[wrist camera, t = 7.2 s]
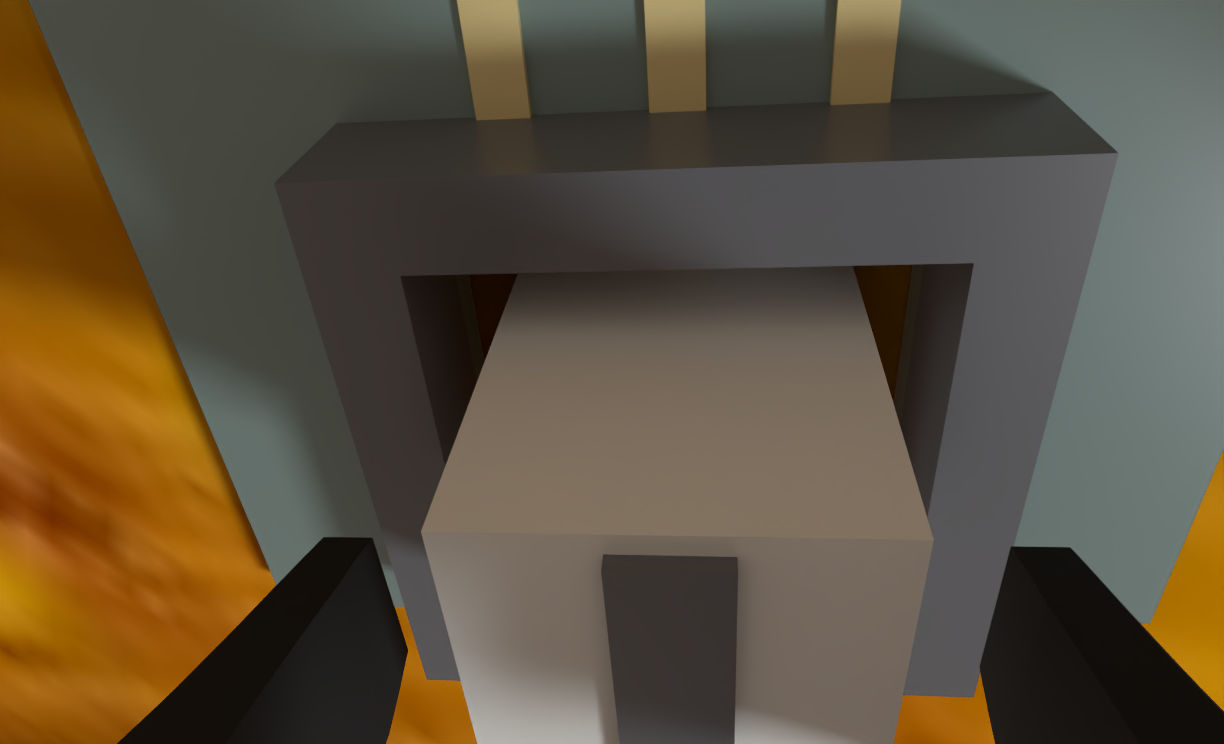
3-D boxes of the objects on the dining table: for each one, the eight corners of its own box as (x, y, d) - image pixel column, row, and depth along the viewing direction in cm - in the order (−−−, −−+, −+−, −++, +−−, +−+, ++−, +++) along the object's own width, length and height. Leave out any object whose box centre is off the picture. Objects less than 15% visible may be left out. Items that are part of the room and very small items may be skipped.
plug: (821, 472, 15) (881, 837, 10) (561, 470, 15) (489, 817, 10) (842, 232, 12) (939, 557, 7) (529, 239, 13) (414, 548, 8)
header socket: (1136, 596, 16) (1235, 788, 13) (296, 580, 18) (213, 744, 15) (1553, -453, 8) (2066, -589, 5) (-53, -284, 10) (-388, -309, 7)
